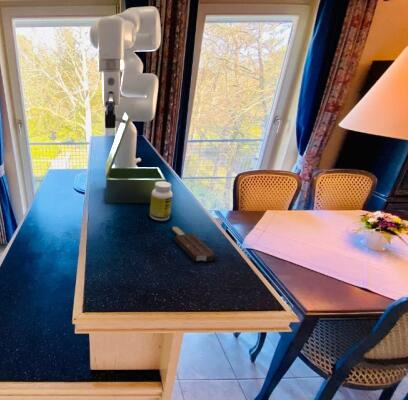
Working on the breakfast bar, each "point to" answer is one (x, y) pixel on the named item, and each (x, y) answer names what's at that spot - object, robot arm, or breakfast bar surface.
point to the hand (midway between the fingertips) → (109, 125)
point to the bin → (132, 184)
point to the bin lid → (117, 142)
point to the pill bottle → (161, 201)
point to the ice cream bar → (193, 246)
